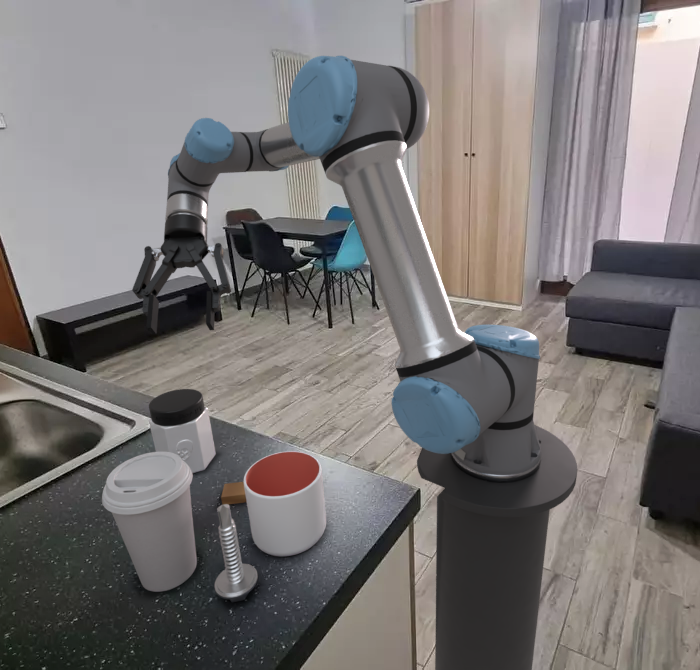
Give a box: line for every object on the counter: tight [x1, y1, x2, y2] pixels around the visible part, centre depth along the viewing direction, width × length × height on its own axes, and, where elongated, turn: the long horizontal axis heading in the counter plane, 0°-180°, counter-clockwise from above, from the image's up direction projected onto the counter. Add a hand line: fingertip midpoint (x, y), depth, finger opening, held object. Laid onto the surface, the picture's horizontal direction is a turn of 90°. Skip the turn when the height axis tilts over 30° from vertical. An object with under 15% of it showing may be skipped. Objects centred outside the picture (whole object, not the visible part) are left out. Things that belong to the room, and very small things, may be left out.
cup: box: [243, 450, 327, 557], centre depth 65 cm, size 10×10×10 cm
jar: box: [148, 388, 217, 474], centre depth 81 cm, size 9×8×12 cm
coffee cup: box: [101, 451, 198, 593], centre depth 59 cm, size 10×10×15 cm
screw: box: [214, 504, 259, 603], centre depth 56 cm, size 13×5×5 cm
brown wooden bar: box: [220, 481, 247, 505], centre depth 75 cm, size 13×3×2 cm, turn 100°
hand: (181, 328), depth 85 cm, fingers open, 9 cm apart
